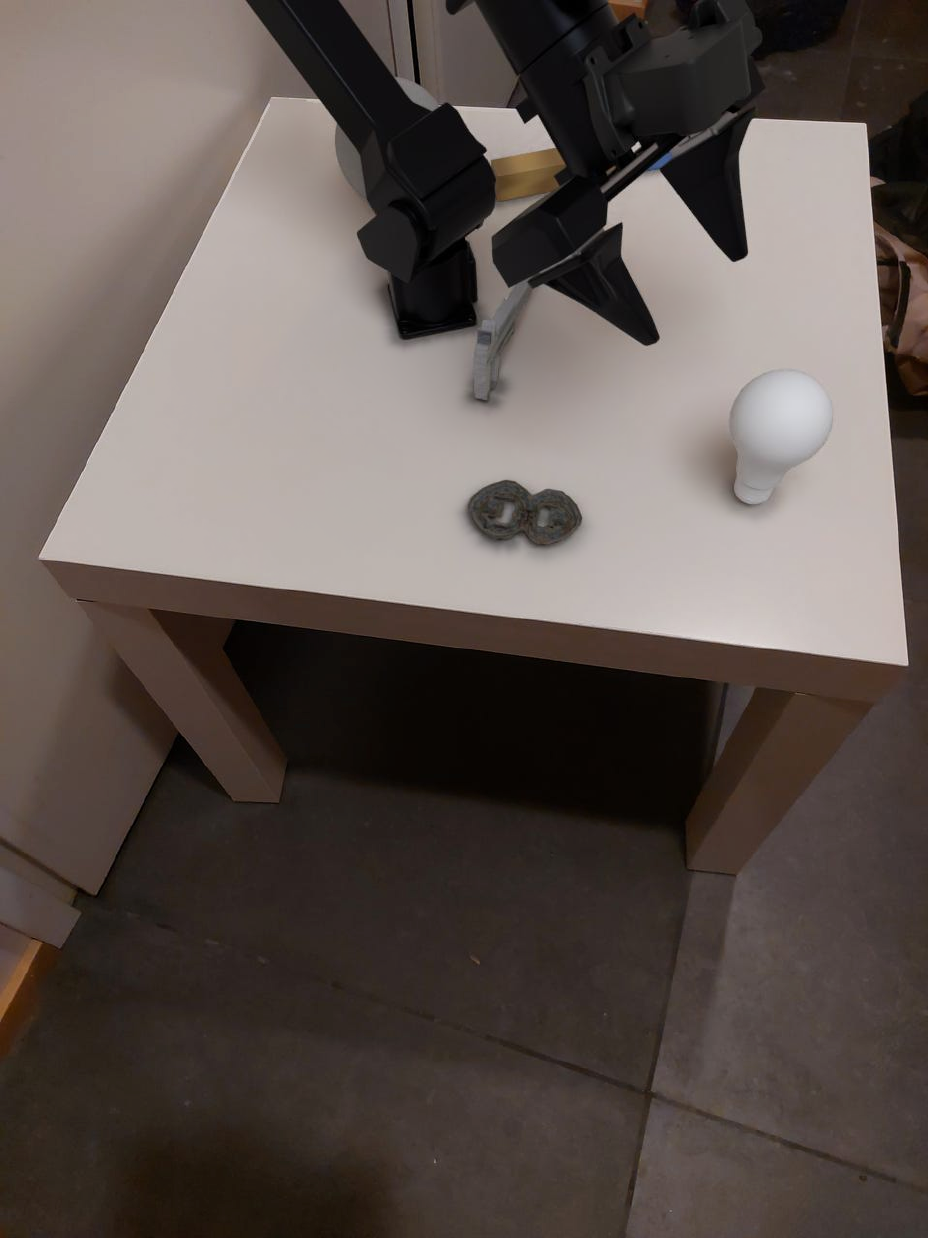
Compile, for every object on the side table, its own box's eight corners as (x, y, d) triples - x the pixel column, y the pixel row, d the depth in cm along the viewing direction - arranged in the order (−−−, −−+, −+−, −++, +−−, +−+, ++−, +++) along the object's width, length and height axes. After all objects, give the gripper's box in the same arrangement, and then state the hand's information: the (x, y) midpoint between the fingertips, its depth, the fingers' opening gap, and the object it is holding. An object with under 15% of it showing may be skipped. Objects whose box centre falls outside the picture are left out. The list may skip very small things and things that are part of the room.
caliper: (487, 406, 65) (485, 344, 60) (474, 403, 65) (470, 341, 60) (563, 237, 74) (567, 169, 69) (551, 235, 74) (554, 167, 69)
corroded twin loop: (573, 559, 58) (574, 550, 57) (460, 538, 59) (460, 529, 58) (587, 501, 60) (588, 492, 59) (478, 482, 62) (477, 473, 61)
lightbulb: (687, 492, 60) (719, 379, 51) (747, 449, 62) (790, 332, 52) (751, 547, 58) (798, 440, 48) (812, 501, 59) (870, 388, 50)
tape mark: (628, 174, 78) (629, 172, 78) (622, 162, 79) (623, 160, 78) (691, 162, 78) (691, 160, 78) (684, 151, 79) (685, 148, 79)
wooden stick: (497, 201, 77) (497, 176, 75) (491, 185, 78) (490, 159, 76) (614, 179, 77) (617, 153, 75) (606, 163, 79) (608, 137, 76)
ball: (340, 172, 80) (319, 60, 71) (444, 156, 80) (436, 43, 72) (351, 240, 75) (330, 129, 67) (461, 223, 76) (455, 111, 67)
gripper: (537, 40, 35) (710, 361, 41) (781, -133, 41) (901, 168, 47) (417, 153, 45) (571, 399, 50) (629, 0, 51) (744, 235, 56)
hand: (698, 299), depth 51 cm, fingers open, 9 cm apart
